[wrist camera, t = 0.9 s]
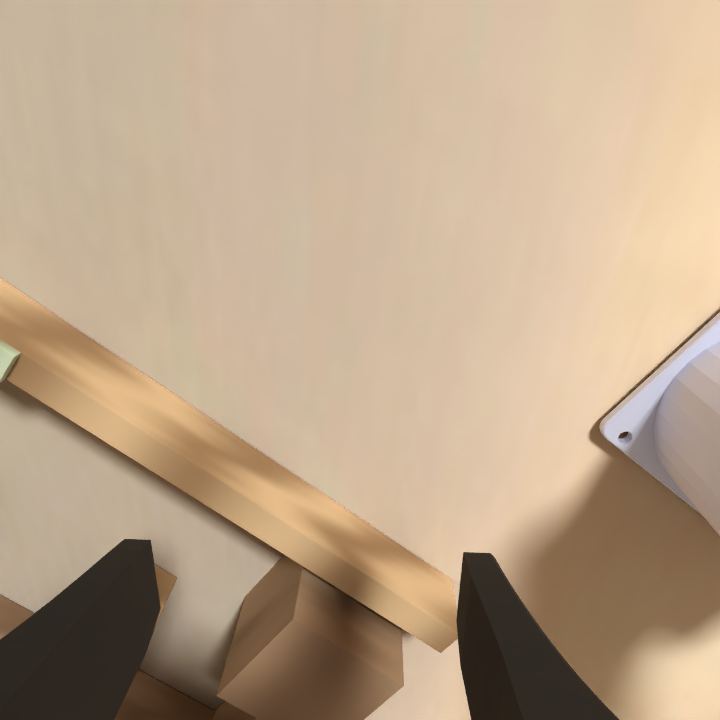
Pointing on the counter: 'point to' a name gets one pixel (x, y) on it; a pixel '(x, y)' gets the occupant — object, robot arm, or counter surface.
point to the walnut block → (309, 651)
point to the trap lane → (211, 490)
